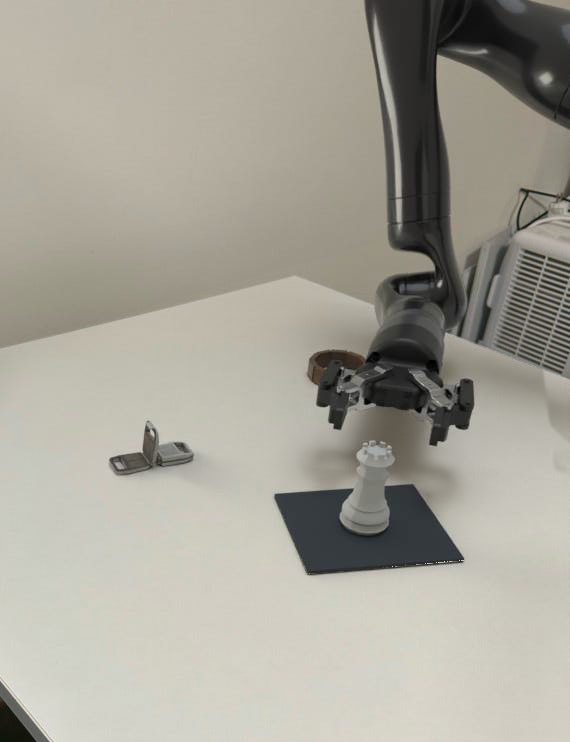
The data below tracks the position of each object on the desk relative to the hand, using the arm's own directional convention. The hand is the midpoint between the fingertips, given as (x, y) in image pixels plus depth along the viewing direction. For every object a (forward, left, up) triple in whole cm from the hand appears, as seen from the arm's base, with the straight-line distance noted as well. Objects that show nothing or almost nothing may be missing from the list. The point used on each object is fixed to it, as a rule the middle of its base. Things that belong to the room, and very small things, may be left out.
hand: (385, 428), depth 74 cm
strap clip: (+20, -11, -8) cm, 24 cm away
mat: (+2, +3, -8) cm, 9 cm away
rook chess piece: (+2, +3, -8) cm, 9 cm away
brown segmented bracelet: (-5, -28, -8) cm, 29 cm away
